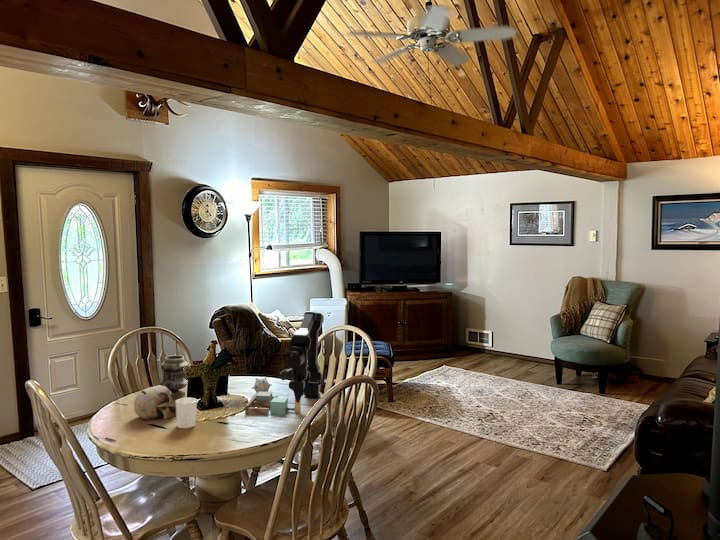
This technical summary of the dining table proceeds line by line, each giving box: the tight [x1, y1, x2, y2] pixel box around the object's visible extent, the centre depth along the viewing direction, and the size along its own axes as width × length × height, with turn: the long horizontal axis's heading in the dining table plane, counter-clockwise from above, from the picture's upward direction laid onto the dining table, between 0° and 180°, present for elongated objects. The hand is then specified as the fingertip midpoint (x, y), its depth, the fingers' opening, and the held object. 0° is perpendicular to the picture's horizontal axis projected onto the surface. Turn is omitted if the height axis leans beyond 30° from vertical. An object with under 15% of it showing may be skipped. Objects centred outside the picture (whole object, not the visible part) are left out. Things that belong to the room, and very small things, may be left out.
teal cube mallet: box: [269, 397, 302, 415], centre depth 219 cm, size 12×6×8 cm, turn 84°
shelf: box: [244, 392, 279, 416], centre depth 224 cm, size 10×18×4 cm, turn 176°
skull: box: [133, 384, 177, 420], centre depth 211 cm, size 16×17×13 cm
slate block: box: [256, 391, 273, 402], centre depth 228 cm, size 6×6×5 cm
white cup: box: [175, 397, 198, 429], centre depth 201 cm, size 8×8×10 cm
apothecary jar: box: [159, 354, 189, 399], centre depth 238 cm, size 12×12×18 cm
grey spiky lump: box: [251, 376, 273, 393], centre depth 242 cm, size 9×8×10 cm
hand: (299, 399), depth 218 cm, fingers open, 9 cm apart
